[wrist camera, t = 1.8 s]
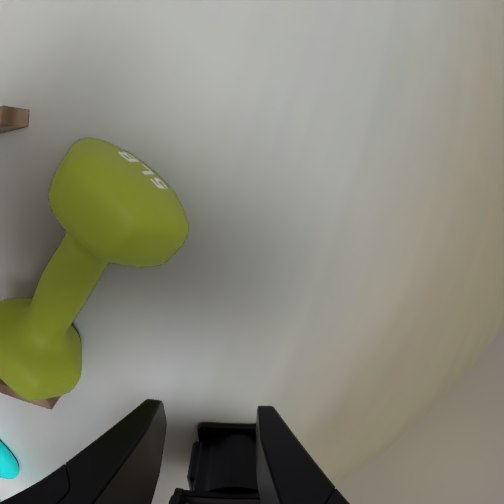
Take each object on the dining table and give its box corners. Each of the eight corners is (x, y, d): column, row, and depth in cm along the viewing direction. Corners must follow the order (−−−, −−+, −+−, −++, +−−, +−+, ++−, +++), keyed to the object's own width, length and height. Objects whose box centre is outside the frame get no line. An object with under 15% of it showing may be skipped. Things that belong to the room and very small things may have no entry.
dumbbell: (117, 129, 17) (52, 115, 10) (212, 212, 19) (191, 240, 12) (15, 305, 20) (-39, 346, 13) (85, 370, 22) (46, 428, 15)
